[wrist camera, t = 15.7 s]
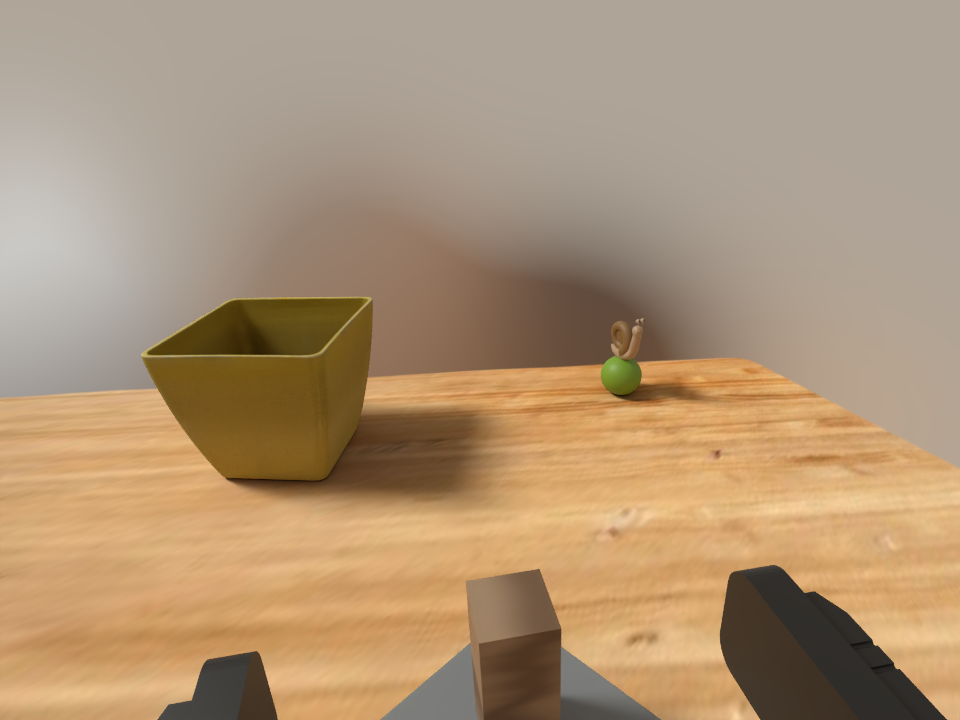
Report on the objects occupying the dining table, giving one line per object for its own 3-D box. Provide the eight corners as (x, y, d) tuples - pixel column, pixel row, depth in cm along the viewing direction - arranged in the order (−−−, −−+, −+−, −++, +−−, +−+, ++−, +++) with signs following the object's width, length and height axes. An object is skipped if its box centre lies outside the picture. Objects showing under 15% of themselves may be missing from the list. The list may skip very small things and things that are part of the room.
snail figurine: (619, 408, 78) (623, 323, 74) (592, 389, 84) (595, 308, 79) (652, 399, 80) (659, 315, 75) (625, 381, 86) (629, 302, 81)
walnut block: (487, 774, 36) (478, 643, 31) (475, 706, 40) (466, 581, 35) (559, 759, 36) (561, 628, 32) (540, 693, 40) (539, 569, 36)
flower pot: (256, 411, 83) (230, 296, 76) (389, 413, 80) (374, 294, 73) (177, 495, 65) (134, 356, 59) (343, 501, 63) (318, 356, 56)
